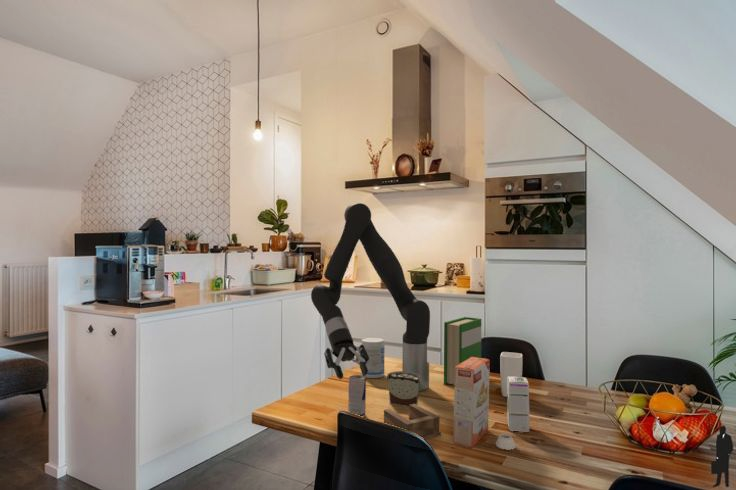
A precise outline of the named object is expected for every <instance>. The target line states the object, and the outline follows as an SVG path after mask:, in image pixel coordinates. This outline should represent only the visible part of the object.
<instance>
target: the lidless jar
mask: <svg viewBox="0 0 736 490" xmlns="http://www.w3.org/2000/svg"><path fill="white" fill-rule="evenodd" d="M495 446H496V447H497V448H498V449H501V450H504V449H506V450H505V451H511V449H512V450H514V448H515V449H516V442H515V441H514V438H513V437H512V435H510V434H509V433H500V434H499V436H498V438H497V440H496V442H495Z"/></svg>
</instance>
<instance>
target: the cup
mask: <svg viewBox="0 0 736 490" xmlns="http://www.w3.org/2000/svg"><path fill="white" fill-rule="evenodd" d="M499 361H500V363H499V364H500V365H499V366H500V367H499V369H500V370H499V372H500V375H499V376H500V387H501V396H503V397H504V398H507V377H512V376H516V377H523V353H519V352H509V351H502V352H501V353H500V356H499Z"/></svg>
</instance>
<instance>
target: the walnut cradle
mask: <svg viewBox="0 0 736 490" xmlns="http://www.w3.org/2000/svg"><path fill="white" fill-rule="evenodd" d="M408 412H409V414H408V419H407V418H406V417H405V416H402V415H401V414H399V413H398V412H396V411H394V410H393V409H390V408H387V409H384V410H383V424H384V423H387V424H390V425H394V426H397V427H400V428H403V429H406V430H408V431H411V432H414V433H416V434H418V435H419V436H421V437H423V438H424V440H428V439H431V438H435V437H439V435H440V436H441V435H442V432H441V431H440V425H441V423H440V420H441V419H440V418H441V417H440V416H438V415H437V414H435V413H433V412H431V411H429V410H427V409H425V408H423V407H421V406H419V405H418V404H417V405H416V404H411V405H409V407H408Z"/></svg>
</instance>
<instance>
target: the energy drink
mask: <svg viewBox="0 0 736 490" xmlns="http://www.w3.org/2000/svg"><path fill="white" fill-rule="evenodd" d="M366 381H367V380H366V377H365V376H362V374H354V375H353V374H352V375H350V376H349V378H348V405H347V406H348V412H350V413H353V414H357V415H360V416H363V418H364V417H365V416H366V409H367V407H366V403H367V402H366V399H367V397H366V396H367V395H366V394H367V386H366V384H367V382H366ZM348 412H347V413H348Z"/></svg>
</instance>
